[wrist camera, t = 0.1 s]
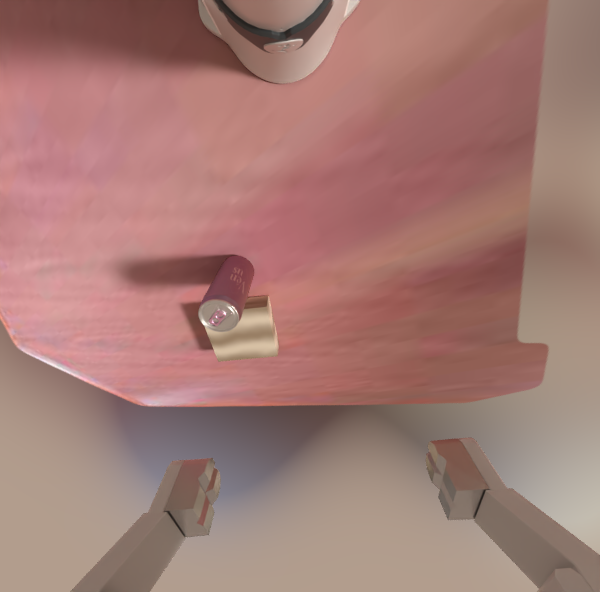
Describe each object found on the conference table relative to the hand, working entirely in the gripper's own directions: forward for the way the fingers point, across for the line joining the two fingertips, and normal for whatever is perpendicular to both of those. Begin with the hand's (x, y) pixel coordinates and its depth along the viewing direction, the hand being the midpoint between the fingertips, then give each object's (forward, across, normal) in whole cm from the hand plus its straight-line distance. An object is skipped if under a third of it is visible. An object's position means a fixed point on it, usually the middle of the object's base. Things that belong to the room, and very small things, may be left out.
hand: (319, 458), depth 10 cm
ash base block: (+41, +15, +19) cm, 47 cm away
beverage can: (+40, +13, +6) cm, 42 cm away
